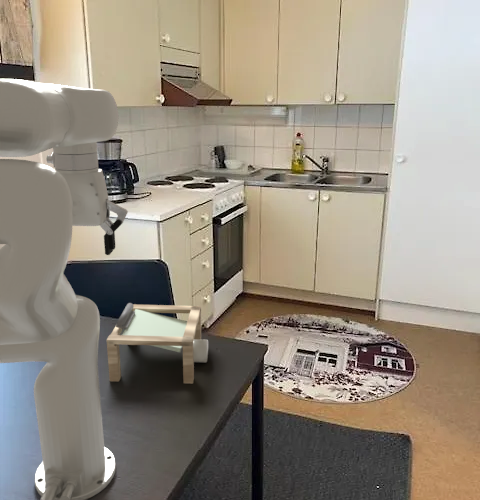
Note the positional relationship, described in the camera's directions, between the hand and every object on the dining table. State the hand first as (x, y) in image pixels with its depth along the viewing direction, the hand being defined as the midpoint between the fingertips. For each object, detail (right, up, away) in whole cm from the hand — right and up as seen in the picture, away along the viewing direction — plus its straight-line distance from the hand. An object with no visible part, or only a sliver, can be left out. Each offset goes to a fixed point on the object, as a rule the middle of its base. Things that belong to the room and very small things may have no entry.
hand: (84, 252), depth 95 cm
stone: (+17, -23, +20) cm, 35 cm away
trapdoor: (+10, -18, +18) cm, 27 cm away
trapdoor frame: (+11, -25, +21) cm, 34 cm away
